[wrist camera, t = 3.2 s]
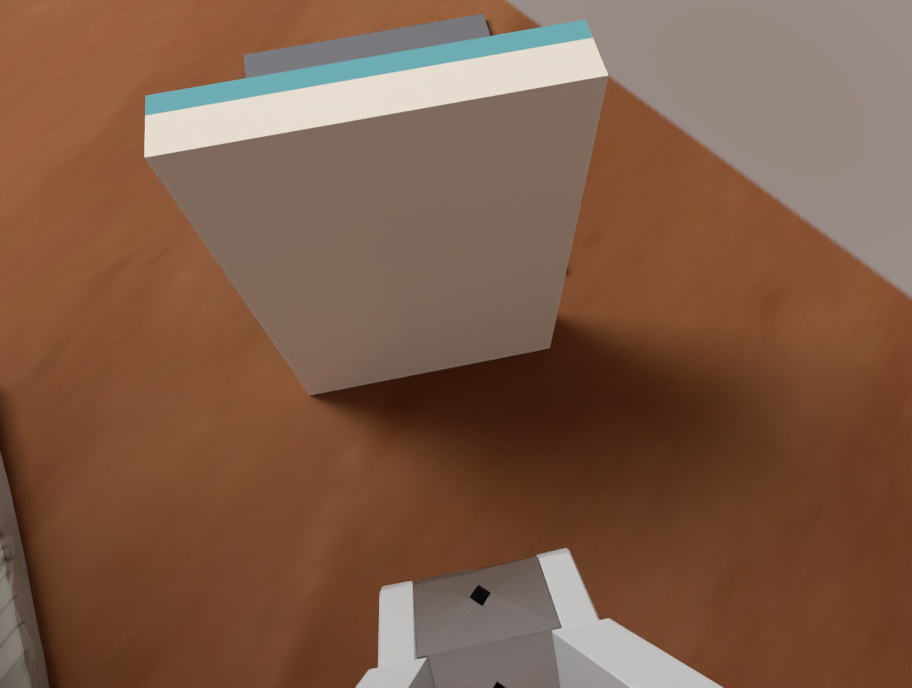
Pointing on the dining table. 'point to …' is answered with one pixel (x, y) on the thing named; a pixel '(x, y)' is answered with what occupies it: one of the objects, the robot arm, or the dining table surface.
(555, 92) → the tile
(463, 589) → the robot arm
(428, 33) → the mat
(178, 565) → the dining table surface
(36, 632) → the packaged product
